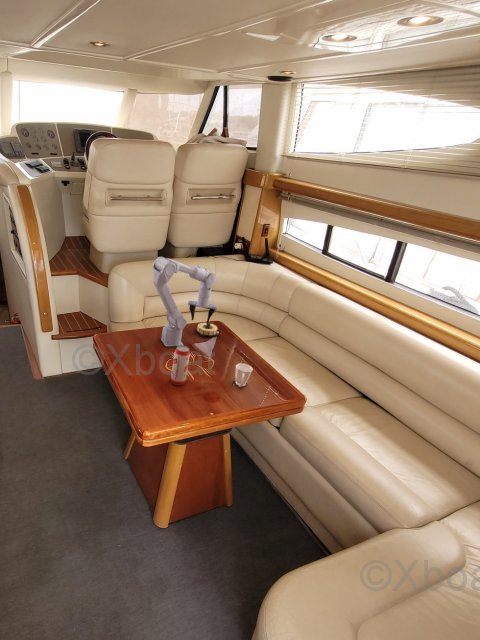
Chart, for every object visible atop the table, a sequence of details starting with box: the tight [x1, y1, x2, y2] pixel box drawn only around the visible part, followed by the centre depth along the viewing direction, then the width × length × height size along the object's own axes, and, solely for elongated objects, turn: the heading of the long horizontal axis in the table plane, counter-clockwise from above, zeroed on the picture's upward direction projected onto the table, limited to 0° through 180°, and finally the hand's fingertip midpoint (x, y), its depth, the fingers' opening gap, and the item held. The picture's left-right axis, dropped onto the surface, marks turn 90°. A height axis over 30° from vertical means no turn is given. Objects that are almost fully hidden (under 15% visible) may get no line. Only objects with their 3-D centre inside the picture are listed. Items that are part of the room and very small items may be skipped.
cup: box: [234, 363, 254, 388], centre depth 161 cm, size 7×10×8 cm
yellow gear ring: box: [196, 322, 219, 335], centre depth 205 cm, size 10×10×2 cm
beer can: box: [170, 345, 191, 386], centre depth 157 cm, size 6×6×16 cm
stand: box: [195, 322, 219, 338], centre depth 205 cm, size 9×9×6 cm
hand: (200, 321), depth 194 cm, fingers open, 7 cm apart
